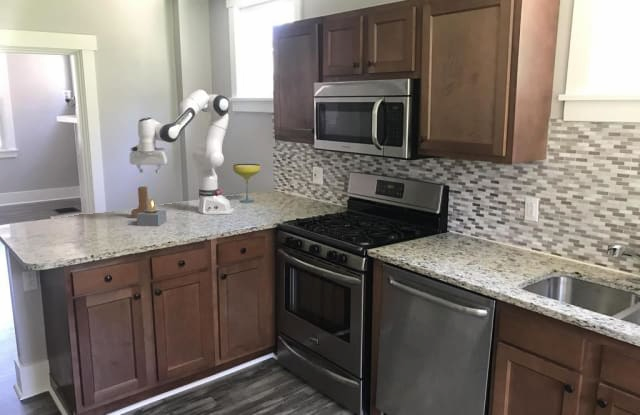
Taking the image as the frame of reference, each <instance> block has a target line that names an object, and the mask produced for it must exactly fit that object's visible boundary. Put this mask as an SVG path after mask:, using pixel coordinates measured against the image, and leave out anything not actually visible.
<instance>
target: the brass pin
mask: <svg viewBox="0 0 640 415" xmlns="http://www.w3.org/2000/svg"><path fill="white" fill-rule="evenodd" d="M155 202H156V201H155V198H149V199H148V200H147V208H148V213H155V210H156V205H155V204H156V203H155Z"/></svg>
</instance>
